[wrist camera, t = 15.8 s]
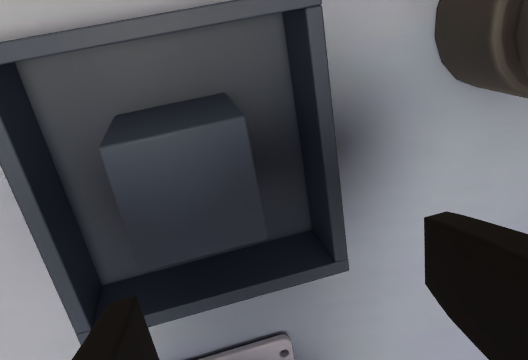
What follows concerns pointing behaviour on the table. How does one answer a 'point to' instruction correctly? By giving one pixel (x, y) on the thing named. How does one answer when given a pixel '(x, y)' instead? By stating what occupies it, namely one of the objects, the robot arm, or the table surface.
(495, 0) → the candle holder
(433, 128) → the table surface
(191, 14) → the slate bin
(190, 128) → the slate block
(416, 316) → the table surface
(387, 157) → the table surface
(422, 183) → the table surface
